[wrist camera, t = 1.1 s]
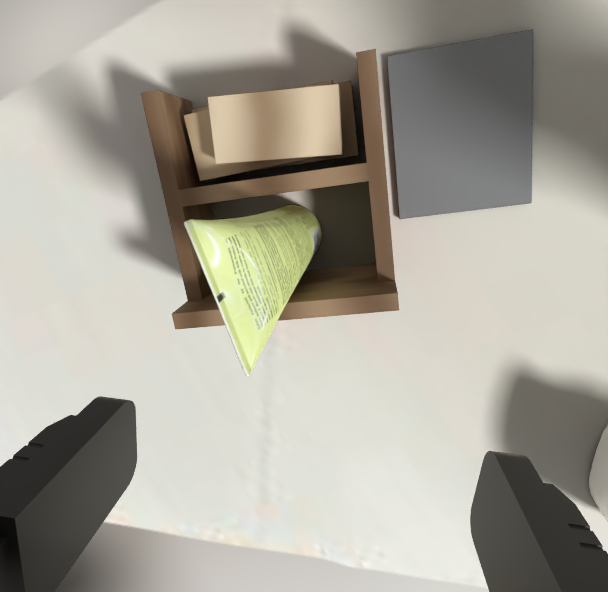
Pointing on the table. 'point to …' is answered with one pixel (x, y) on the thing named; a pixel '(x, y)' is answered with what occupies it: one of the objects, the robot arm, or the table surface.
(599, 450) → the toilet tissue
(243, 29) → the table surface
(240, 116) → the offcut stack
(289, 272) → the tube
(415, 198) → the mat
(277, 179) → the rack
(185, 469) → the table surface
